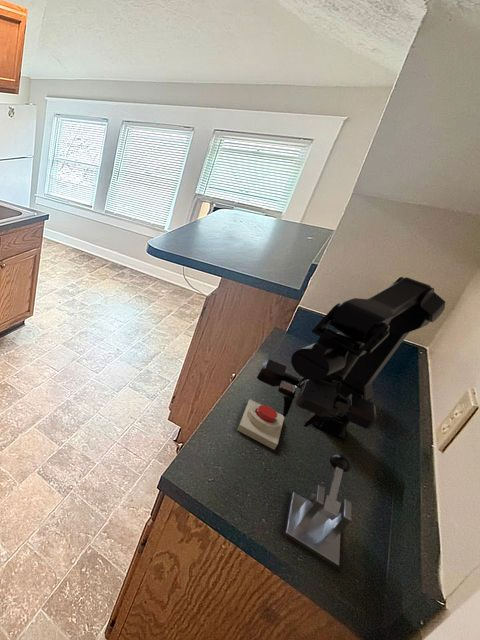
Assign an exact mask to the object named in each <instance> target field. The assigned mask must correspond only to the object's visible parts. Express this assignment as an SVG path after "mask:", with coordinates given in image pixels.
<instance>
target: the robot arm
mask: <svg viewBox="0 0 480 640" xmlns="http://www.w3.org/2000/svg"><path fill="white" fill-rule="evenodd" d="M445 308H446V301H445V300H444V299H443V298H442V297H440V295H438V294H437V293H436V292H435V288H434V287H432V286H431V285H430V284H428V283H424V282H422V281H419V280H416V279H414V278H411V277H407V276H406V277H403V276H400V277H398V278H397V279H396V280H395V281H393V282H392V283H391V284H390V285H389V286H388V287H387V288H384V289H383V290H381V291H380V292H377V293H375V294H374V295H372V296H370V297H369V298H357V297H354V298H350V299H347V300H344V301H342V302H341V303H339V302H338V303H336V304H335V305H334V306H333V307H332V308H331V309H330V310H329V312H327V313H326V314H325V316H324V317H323V318H322V319H321V320H320V321H319V323H317V324H316V325H315V327H314V328H313V329H312V330H311V333H312V334H314V335H316V336H318V337H319V338H318V339H317V341H316V342H313V343H312V344H309V345H307V346H304V347H302V348H299V349H297V350H296V351H295V352H293V353H292V354H291V355H292V356H291V358H290V363H291V366H292V368H293V370H294V371H295V373H296V374H298V375H299V376H300V377H299V378H298V377H297V376H295V375H292V374H289V373H287V372H286V370H287V368H288V367H287V366H286V365H285V364H281V363H279V362H278V361H275V360H272V359H270V358H267V359H264V360H263V361H262V364H261V366H260V368H259V371H258V373H257V376H256V379H257V380H258V381H259V382H262V383H264V384H266V385H269V386H271V387H274V388H275V387H277V392H278V393H280V394H282V396H283V413H282V415H283V416H284V418H286V417H287V415H288V414H289V412H290V409H291V407H292V404H293V401H294V399H295V397H296V391H297V390H299V392H298V393H297V394H298V395H297V397H296V399H295V404H296V406H297V407H298V408H300V409H303V410H306V411H308V412H310V413H309V414H308V416H307V417H306V419H305V421H304V422H303V427H305V428H306V427H309V426H311V425H312V426H313V427H315V428H317V429H320V430H321V431H324V432H326V433H327V434H329V435H332V436H334V437H335V438H338V439H340V440H345V437H346V428H347V426H348V425H349V424H350V423H352V424H354V425H357V426H358V427H361V428H363V429H365V430H370V429H372V427H373V426H374V425H375V423H376V421H377V406H376V405H375V403H374V402H372V401H371V400H372V399H373V398H374V395H375V394H374V389H373V388H374V387H373V384H372V383H373V382H374V380H375V379H376V378H377V377H378V375H379V374H380V372H381V371H382V370H383V369H384V367H385V366H386V364H387V363H388V362H389V361H390V359H391V357H392V356H393V355H394V353H395V352H396V351H397V349H398V348H399V347H400V345H401V344H402V343H403V341H404V340H405V339H406V337H408V335H409V333H412V332H413V331H416V330H419V329H422V328H424V327H426V326H428V325H429V324H430V323H434V322H436V321H437V319H439V318H440V317H441V315H442V314H443V312H444V311H445V310H446V309H445ZM327 326H329V327H330V328H331V329H330V328H328V327H327ZM332 329H334V330H336V331H337V332H336V331H333V330H332Z"/></svg>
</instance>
